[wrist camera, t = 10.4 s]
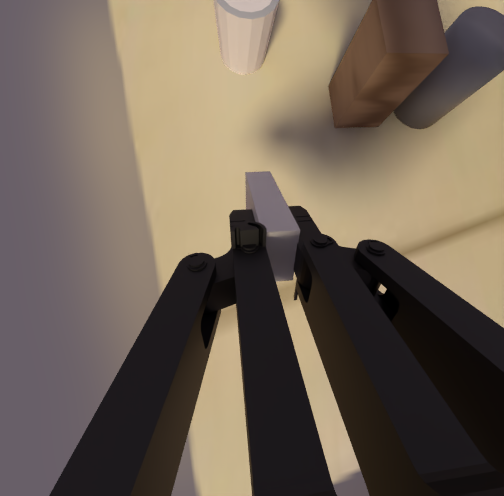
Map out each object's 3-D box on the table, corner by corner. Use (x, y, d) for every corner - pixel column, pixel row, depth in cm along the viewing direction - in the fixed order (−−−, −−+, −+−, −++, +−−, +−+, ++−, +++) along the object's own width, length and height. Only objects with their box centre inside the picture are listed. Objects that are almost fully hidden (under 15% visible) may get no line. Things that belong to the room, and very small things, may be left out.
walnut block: (370, 85, 31) (436, -4, 21) (378, 126, 31) (449, 53, 21) (328, 86, 31) (375, -6, 21) (334, 127, 30) (386, 52, 20)
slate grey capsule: (433, 82, 32) (510, 7, 24) (443, 128, 32) (527, 68, 23) (387, 82, 32) (448, 5, 23) (396, 129, 31) (464, 68, 22)
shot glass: (273, 41, 31) (286, -29, 24) (262, 85, 30) (272, 26, 23) (223, 26, 30) (221, -49, 23) (210, 70, 29) (204, 5, 22)
